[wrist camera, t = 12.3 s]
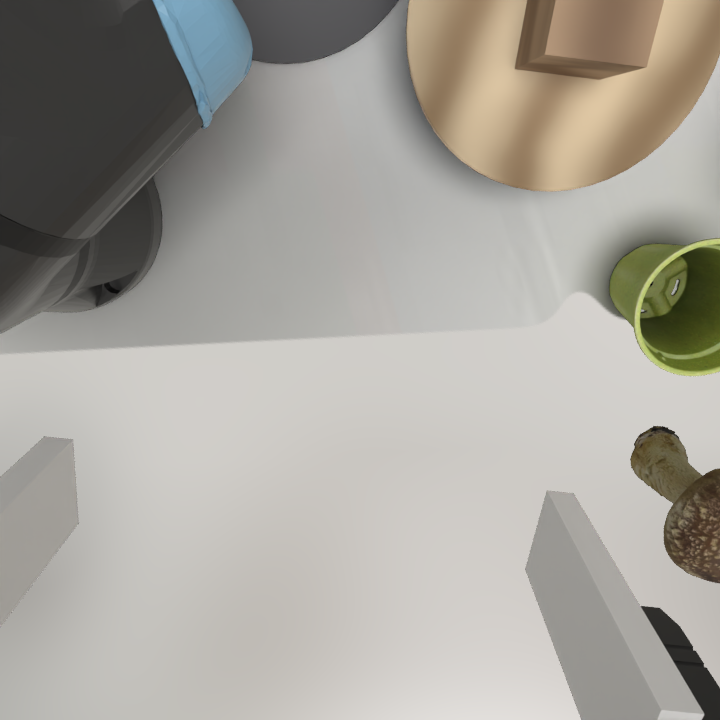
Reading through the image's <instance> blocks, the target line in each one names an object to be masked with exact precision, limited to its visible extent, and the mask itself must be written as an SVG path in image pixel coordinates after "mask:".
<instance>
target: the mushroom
mask: <svg viewBox="0 0 720 720" xmlns="http://www.w3.org/2000/svg"><path fill="white" fill-rule="evenodd" d="M674 433H675V432H674V431H672V430H669V429H668V428H665V427H663V426H662V427H661V426H653V428H650V429H649V430H647V431H646V432H644V433H642V434H640V435H639V437H638V438H637V440H636V441H635V443H634V445H635V449H634V451H633V453H632V456H631V459H630V460H631V466H632V468H633V470H634V472H635V474H636V475H637V476H638V477H639V478H640V479H641V480H643V481H644V482H645V483H646V484H647V485H648V486H651V488H653V489H654V490H655V491H656V492H658V493H659V494H660V495H661V496H664V497H665V498H666V499H667V500H669V501H671V502H672V503H673V506H672V507H671V509H670V511H669V513H668V515H667V518H666V521H665V525H664V545H665V548H666V551H667V553H668V555H669V556H670V558H671V559H672V560H673V562H674V563H675V564H676V565H677V566H679V567H680V568H682V569H683V570H684V571H685V572H687V573H688V574H691V575H693V576H696V577H699V578H701V579H704V580H707V581H711V582H715V583H720V469H715V470H712V471H710V472H708V473H706V474H705V475H704V476H702V475H701V474H700V473H698V472H697V471H696V470H695V469H694V468H693V467H692V466H691V465H690V464H689V463H688V457H687V455H686V450H685V448H684V446H683V445H682V443H681V442H680V440H679V437H678V436H677V435H675V434H674Z"/></svg>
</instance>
